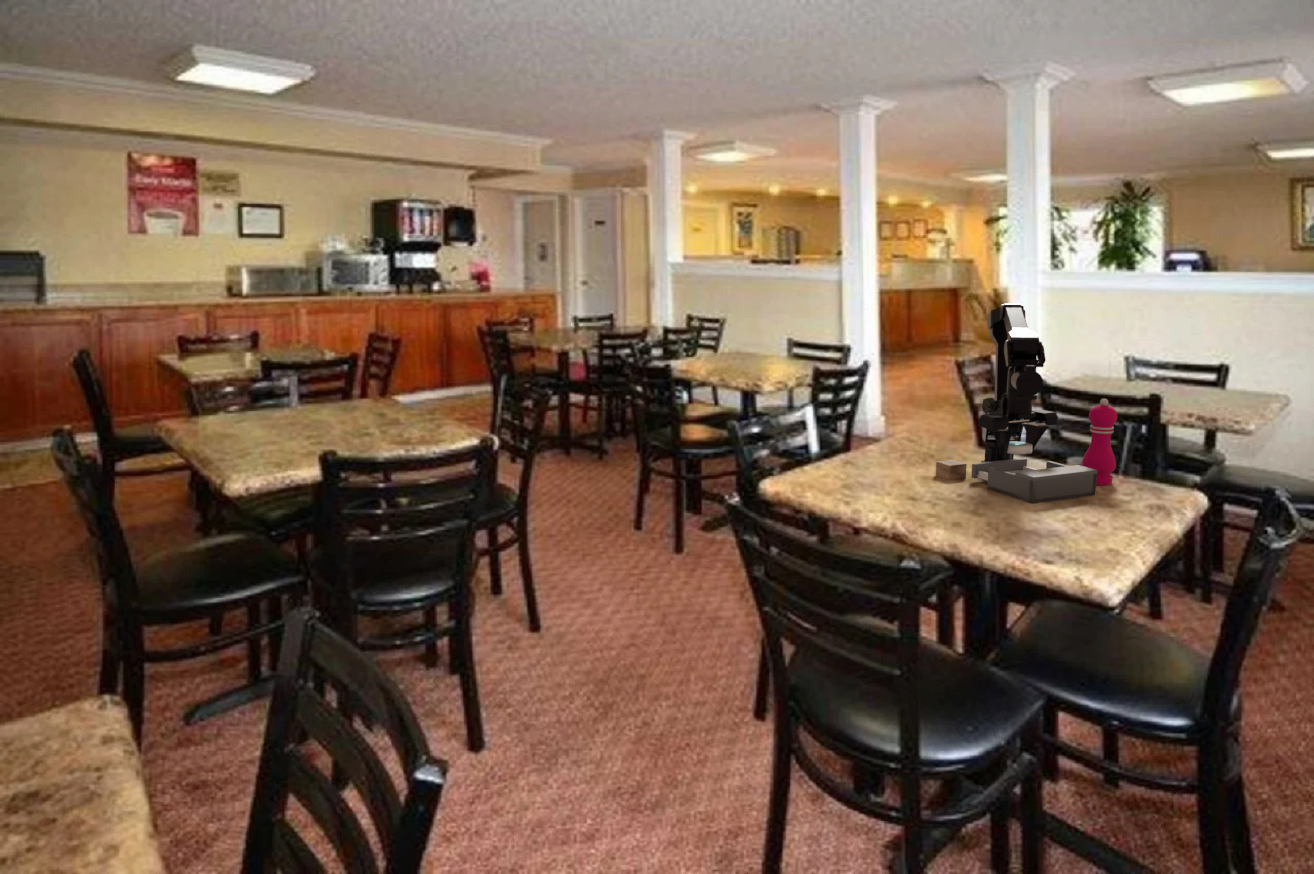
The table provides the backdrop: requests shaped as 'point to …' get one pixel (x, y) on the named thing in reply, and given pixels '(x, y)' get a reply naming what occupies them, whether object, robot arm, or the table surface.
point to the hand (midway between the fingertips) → (1015, 455)
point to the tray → (999, 467)
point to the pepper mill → (1101, 443)
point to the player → (1045, 482)
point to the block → (951, 469)
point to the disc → (1019, 448)
